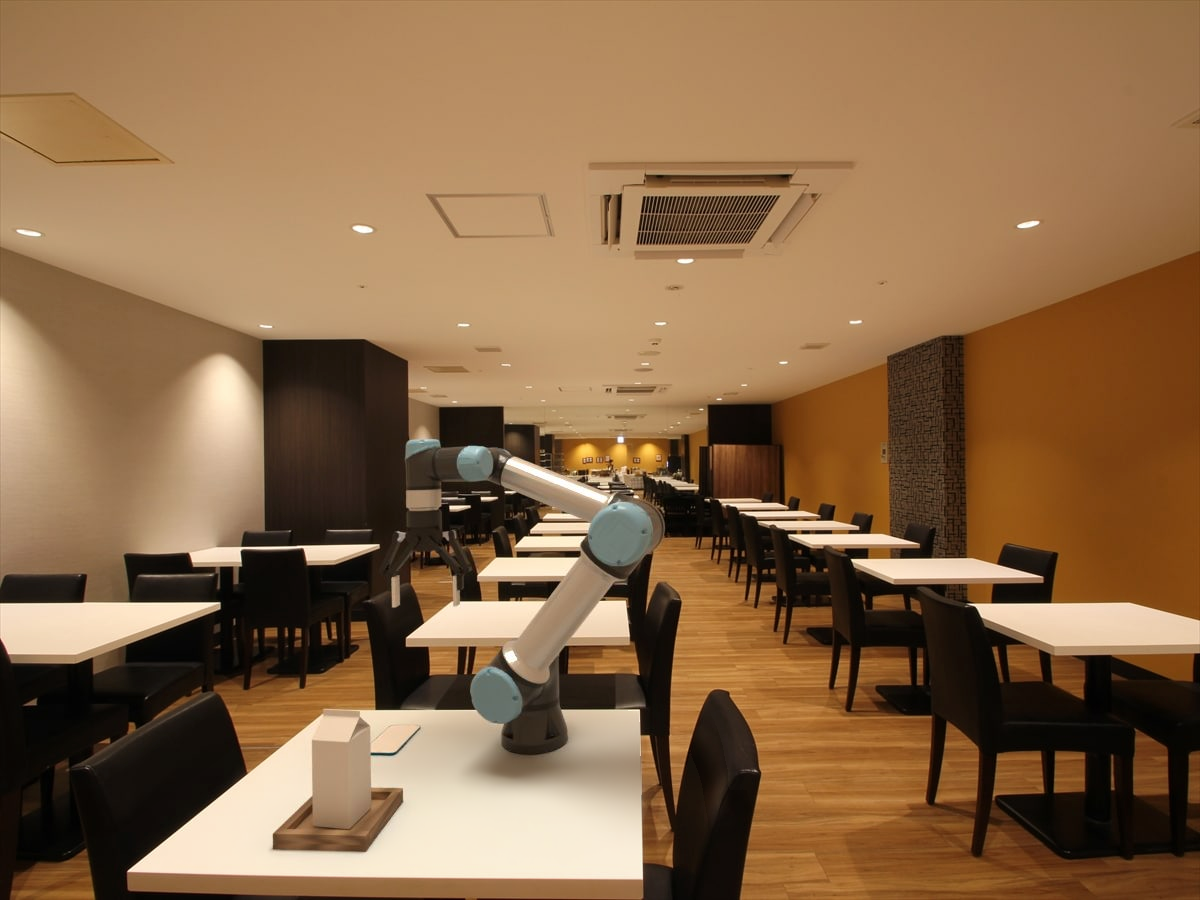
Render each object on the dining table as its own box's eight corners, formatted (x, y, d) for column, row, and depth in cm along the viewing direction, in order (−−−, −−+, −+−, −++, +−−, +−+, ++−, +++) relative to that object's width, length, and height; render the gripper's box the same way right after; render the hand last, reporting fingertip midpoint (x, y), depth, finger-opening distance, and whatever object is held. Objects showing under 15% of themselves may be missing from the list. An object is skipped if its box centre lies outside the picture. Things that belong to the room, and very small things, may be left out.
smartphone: (390, 728, 160) (360, 756, 144) (390, 724, 160) (360, 752, 144) (422, 729, 159) (395, 757, 143) (422, 725, 159) (395, 753, 143)
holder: (403, 801, 123) (402, 788, 123) (365, 851, 107) (365, 835, 107) (321, 799, 124) (321, 786, 124) (272, 849, 108) (272, 833, 108)
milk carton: (349, 830, 112) (348, 718, 112) (312, 827, 113) (311, 716, 113) (371, 809, 119) (370, 703, 119) (336, 806, 120) (335, 701, 120)
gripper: (483, 506, 147) (486, 601, 146) (375, 509, 149) (377, 603, 148) (475, 508, 140) (477, 608, 139) (361, 511, 141) (363, 610, 141)
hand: (426, 605), depth 144 cm, fingers open, 13 cm apart
